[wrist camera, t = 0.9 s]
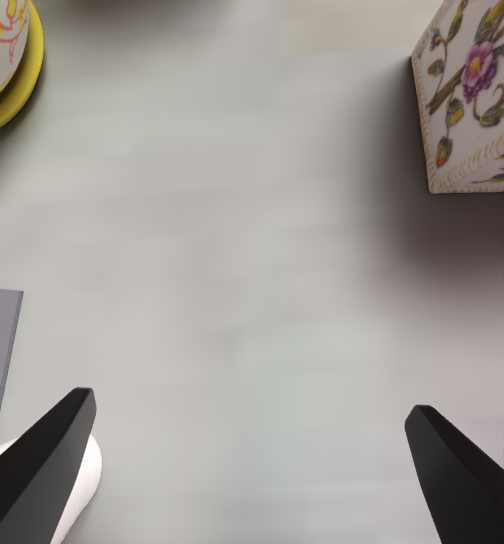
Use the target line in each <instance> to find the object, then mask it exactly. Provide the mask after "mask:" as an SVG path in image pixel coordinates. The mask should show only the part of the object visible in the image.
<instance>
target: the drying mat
mask: <svg viewBox="0 0 504 544" xmlns="http://www.w3.org/2000/svg"><path fill="white" fill-rule="evenodd" d="M22 296H23V291H15V290H5V289H0V408H1V403H2V398H3V393H4V388H5V382H6V377H7V372H8V367H9V362H10V357H11V352H12V347H13V342H14V337H15V332H16V327H17V322H18V317H19V312H20V307H21V302H22Z"/></svg>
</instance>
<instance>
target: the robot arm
mask: <svg viewBox="0 0 504 544" xmlns="http://www.w3.org/2000/svg"><path fill="white" fill-rule="evenodd" d="M95 416H96V403H95V397H94V392H93V389H92V388H84V387H77V388H75V389H73V390H72V391H71V392H69V393H68V394H67V395H66V396H65V397H64V398H63V399H62V400H61V401H59V402H58V403H57V404H56V405H55V406H54V407H53V408H52V409H51V410H49V411H48V412H47V413H46V414H45V415H44V416H43V417H42V418H41V419H39V420H38V421H37V422H36V423H35V424H34V425H33V426H32V427H31V428H29V429H28V430H27V431H26V432H25V433H24V434H23V435H22V436H21V437H19V438H18V439H17V440H16V441H15V442H14V443H13V444H12V445H11V446H9V447H8V448H7V449H6V450H5V451H4V452H3V453H2V454H1V455H0V544H50V543H51V541H52V539H53V536H54V534H55V531H56V529H57V526H58V524H59V521H60V519H61V517H62V514H63V512H64V509H65V507H66V504H67V502H68V499H69V497H70V495H71V492H72V490H73V487H74V484H75V482H76V479H77V476H78V473H79V470H80V467H81V463H82V460H83V456H84V453H85V450H86V446H87V443H88V440H89V436H90V433H91V429H92V426H93V423H94V419H95ZM405 432H406V436H407V439H408V443H409V447H410V450H411V454H412V457H413V461H414V465H415V468H416V472H417V476H418V479H419V482H420V486H421V489H422V491H423V494H424V497H425V500H426V502H427V505H428V508H429V510H430V513H431V516H432V519H433V521H434V524H435V527H436V529H437V532H438V535H439V537H440V540H441V543H442V544H504V469H503V468H502V467H500V466H499V465H498V464H497V463H496V462H495V461H494V460H492V459H491V458H490V457H489V456H488V455H487V454H486V453H484V452H483V451H482V450H481V449H480V448H479V447H478V446H477V445H475V444H474V443H473V442H472V441H471V440H470V439H469V438H467V437H466V436H465V435H464V434H463V433H462V432H461V431H460V430H458V429H457V428H456V427H455V426H454V425H453V424H452V423H450V422H449V421H448V420H447V419H446V418H445V417H444V416H442V415H441V414H440V413H439V412H438V411H437V410H436V409H435V408H433V407H432V406H430V405H415V406H414V407H413V409H412V411H411V412H410V414H409V416H408V417H407V419H406V421H405Z"/></svg>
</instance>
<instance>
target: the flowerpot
mask: <svg viewBox="0 0 504 544" xmlns="http://www.w3.org/2000/svg"><path fill="white" fill-rule="evenodd" d="M43 53H44V37H43V30H42V25H41V22H40V18H39V16H38V13H37V11H36V9H35V7H34V5H33V3H32V1H31V0H0V127H2V126H3V125H5V124H6V123H7V122H8V121H10V120H11V119H12V118H13V117H14V116H15V115H16V114H17V113H18V112H19V111H20V109H21V108H22V107H23V106H24V104H25V103H26V101H27V100H28V98H29V97H30V95H31V93H32V91H33V89H34V87H35V84H36V81H37V78H38V75H39V72H40V69H41V65H42V60H43Z"/></svg>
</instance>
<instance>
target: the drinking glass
mask: <svg viewBox="0 0 504 544" xmlns="http://www.w3.org/2000/svg"><path fill="white" fill-rule="evenodd" d="M21 436H22V435H21ZM21 436H19V437H21ZM19 437H17V438H15V439H13V440H11V441H8V442H6V443H4V444H1V445H0V455H1V454H2V453H3V452H4V451H5V450H6V449H7V448H8V447H9V446H11V445H12V444H13V443H14V442H15V441H16V440H17V439H18V438H19ZM101 473H102V456H101V452H100V449H99V446H98V444H97V442H96V440H95V439H94V437H93V436H92V435H91V434H90V436H89V440H88V443H87V446H86V450H85V453H84V456H83V460H82V463H81V467H80V470H79V473H78V476H77V479H76V482H75V484H74V487H73V490H72V492H71V495H70V497H69V499H68V502H67V504H66V507H65V509H64V512H63V514H62V517H61V519H60V521H59V524H58V526H57V529H56V531H55V534H54V536H53V539H52V541H51V543H50V544H61V542H62V541H63V539H64V538H65V536H66V534H67V533H68V531H69V530H70V528H71V526H72V525H73V523H74V522H75V520H76V519H77V517H78V515H79V514H80V513H81V512H82V510H83V509H84V508H85V506H86V505H87V504H88V502H89V501H90V500H91V498H92V497H93V495H94V493H95V491H96V489H97V487H98V484H99V482H100V478H101Z"/></svg>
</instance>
